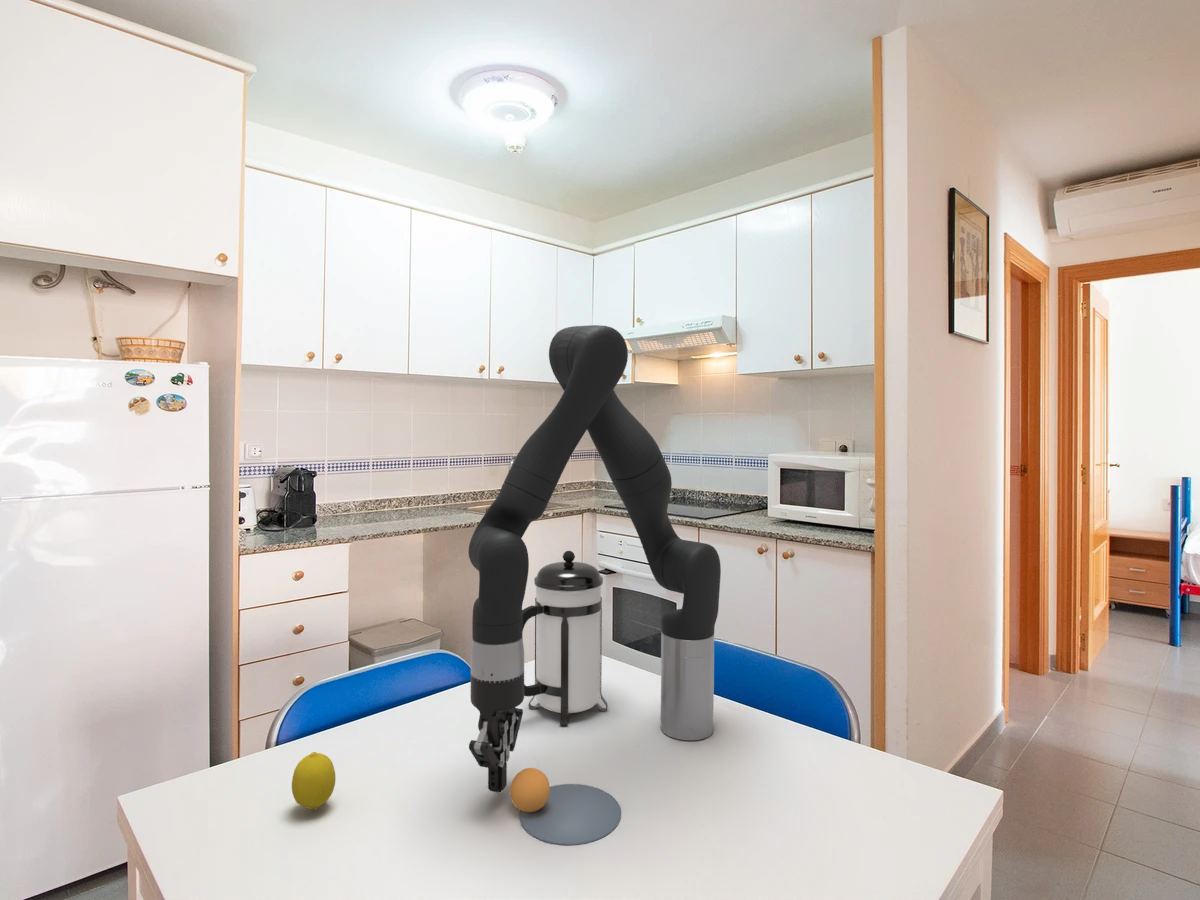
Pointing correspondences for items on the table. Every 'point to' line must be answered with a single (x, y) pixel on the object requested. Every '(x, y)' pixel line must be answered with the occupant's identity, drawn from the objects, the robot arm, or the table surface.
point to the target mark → (573, 815)
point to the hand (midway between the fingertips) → (497, 788)
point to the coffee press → (567, 638)
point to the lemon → (313, 780)
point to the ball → (530, 790)
